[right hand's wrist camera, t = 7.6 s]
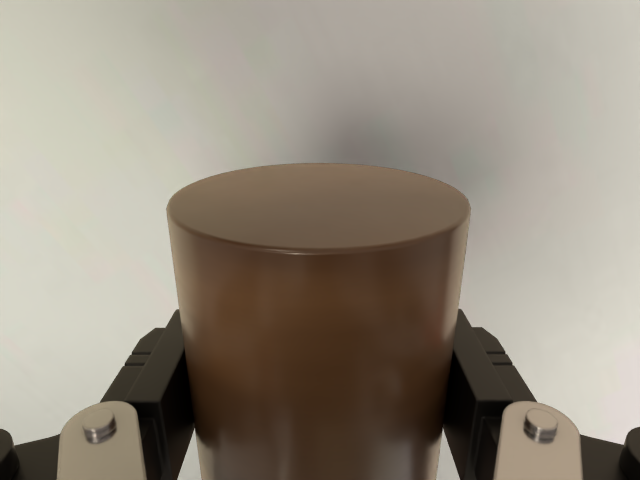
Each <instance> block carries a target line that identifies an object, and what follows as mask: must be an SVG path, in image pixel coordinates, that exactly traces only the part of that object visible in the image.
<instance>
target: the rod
mask: <svg viewBox="0 0 640 480" xmlns="http://www.w3.org/2000/svg"><path fill="white" fill-rule="evenodd" d="M166 210H167V219H168V227H169V235H170V242H171V250H172V257H173V265H174V273H175V280H176V288H177V295H178V303H179V311H180V318H181V326H182V333H183V341H184V349H185V356H186V364H187V371H188V379H189V387H190V394H191V402H192V409H193V417H194V424H195V432H196V440H197V447H198V455H199V462H200V470H201V478H202V480H436V476H437V468H438V460H439V453H440V445H441V437H442V430H443V422H444V414H445V406H446V399H447V391H448V383H449V375H450V368H451V360H452V352H453V345H454V337H455V329H456V321H457V314H458V306H459V298H460V291H461V283H462V275H463V267H464V260H465V252H466V244H467V237H468V229H469V221H470V213H471V207H470V204H469V202H468V199H467V198H466V197H465V196H464V195H463V194H462V193H461V192H460V191H458V190H457V189H455V188H454V187H452V186H450V185H448V184H446V183H443V182H441V181H439V180H436V179H433V178H430V177H427V176H423V175H420V174H416V173H412V172H407V171H403V170H397V169H391V168H384V167H377V166H368V165H356V164H338V163H300V164H282V165H270V166H261V167H253V168H247V169H241V170H235V171H231V172H226V173H222V174H218V175H214V176H211V177H208V178H205V179H202V180H199V181H197V182H194V183H192V184H190V185H188V186H186V187H184V188H182V189H180V190H179V191H178V192H177V193H175V194H174V195H173V196H172V197H171V199H170V200H169V203H168V205H167V208H166Z"/></svg>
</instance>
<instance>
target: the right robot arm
mask: <svg viewBox="0 0 640 480" xmlns="http://www.w3.org/2000/svg"><path fill="white" fill-rule="evenodd" d="M194 428H195V424H194V417H193V409H192V402H191V394H190V387H189V379H188V371H187V364H186V356H185V349H184V341H183V333H182V326H181V318H180V311H179V309H177V310H176V311H175V312H174V314H173V316H172V318H171V319H170V321H169V323H168V325H167V326H166V328H155V329H153V330H152V331H151V332H149V333H148V334H147V335H145V336H144V337H143V338H141V339H140V341H139V342H138V344H137V345H136V347H135V348H134V350H133V351H132V355H130V356H129V358H128V359H127V361H126V362H125V366H123V367H122V369H121V370H120V372H119V373H118V375H117V376H116V378H115V379H114V381H113V383H112V384H111V386H110V387H109V389H108V390H107V392H106V394H105V395H104V397H103V398H102V400H101V401H100V403H98V404H95V405H92V406H90V407H88V408H86V409H84V410H82V411H80V412H79V413H77V414H76V415H74V416H73V417H72V418H71V419H70V420H69V421H68V422H67V423H66V424H65V426H64V427H63V429H62V431H61V434H59V435H56V436H53V437H49V438H45V439H41V440H37V441H32V442H28V443H24V444H20V445H15V446H14V443H13V440H12V437H11V435H10V434H9V433H8V432H7V431H5V430H3V429H0V480H177V478H178V475H179V472H180V469H181V466H182V463H183V461H184V458H185V455H186V452H187V449H188V446H189V443H190V440H191V437H192V434H193V431H194ZM443 429H444V432H445V435H446V438H447V441H448V444H449V447H450V450H451V453H452V456H453V459H454V462H455V465H456V468H457V471H458V474H459V477H460V480H640V427H637V428H634V429H632V430H631V431H630V432H629V433H628V434H627V437H626V440H625V443H624V445H621V444H617V443H613V442H609V441H604V440H600V439H596V438H592V437H588V436H584V435H581V434H579V431H578V429H577V427H576V426H575V424H574V423H573V422H572V421H571V420H570V419H569V418H568V417H567V416H566V415H564V414H563V413H561V412H560V411H558V410H556V409H554V408H552V407H550V406H548V405H545V404H542V403H538V402H537V401H536V399H535V398H534V396H533V395H532V393H531V391H530V390H529V388H528V387H527V385H526V384H525V382H524V380H523V379H522V377H521V376H520V374H519V373H518V371H517V369H516V368H515V366H513V365H512V361H511V360H510V358H509V357H508V355H507V354H505V350H504V349H503V347H502V346H501V344H500V343H499V341H498V339H497V338H495V337H494V336H493V335H491V334H490V333H489V332H487V331H486V330H485V329H483V328H482V327H471V325H470V323H469V322H468V320H467V318H466V316H465V314H464V313H463V311H462V310H461V309H458V314H457V321H456V329H455V337H454V345H453V352H452V360H451V368H450V375H449V383H448V391H447V399H446V406H445V414H444V422H443Z"/></svg>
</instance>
